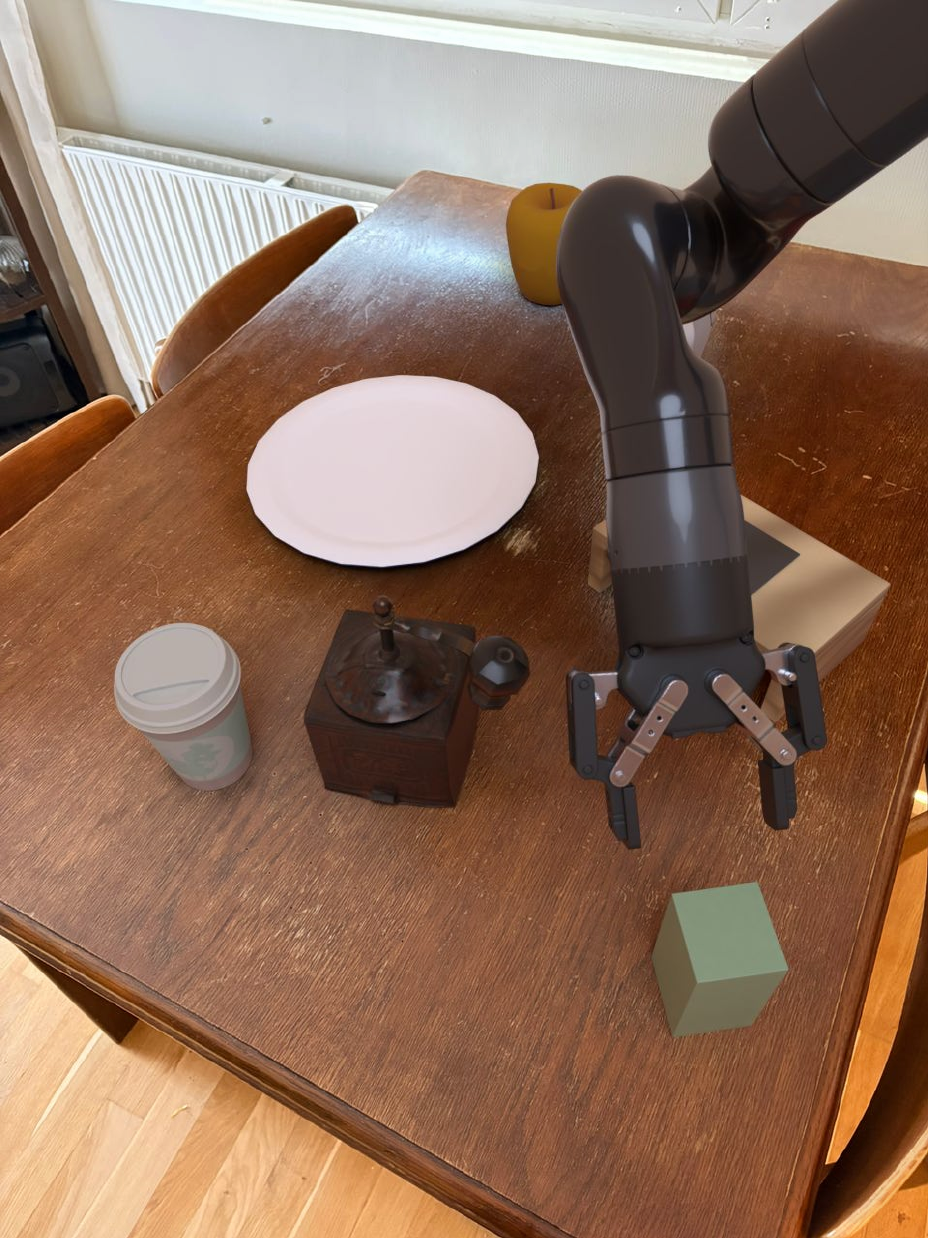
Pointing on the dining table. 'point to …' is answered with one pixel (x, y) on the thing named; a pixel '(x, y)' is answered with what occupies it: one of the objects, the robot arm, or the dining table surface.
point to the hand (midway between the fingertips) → (704, 835)
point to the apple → (538, 238)
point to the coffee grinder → (406, 704)
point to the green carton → (716, 959)
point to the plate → (392, 471)
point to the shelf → (790, 593)
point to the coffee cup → (187, 702)
